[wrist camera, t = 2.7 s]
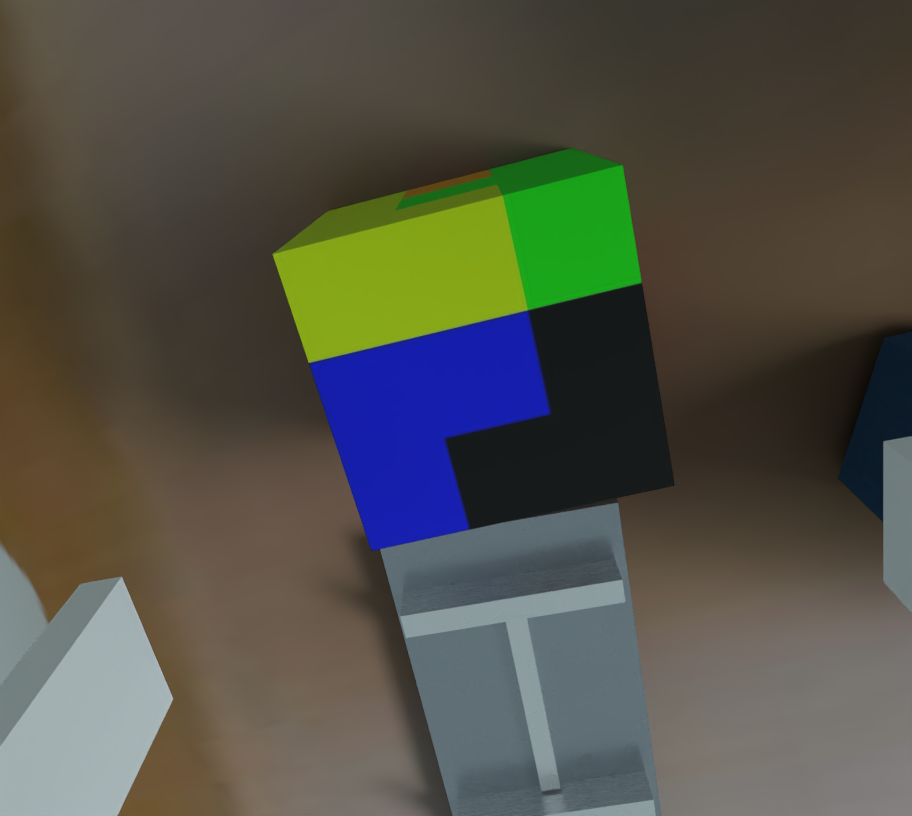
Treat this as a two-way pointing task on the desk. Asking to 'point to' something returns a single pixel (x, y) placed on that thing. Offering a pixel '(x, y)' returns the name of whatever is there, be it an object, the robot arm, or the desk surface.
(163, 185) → the desk surface
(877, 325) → the desk surface
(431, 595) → the rail plate
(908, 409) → the radio
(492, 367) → the puzzle toy
